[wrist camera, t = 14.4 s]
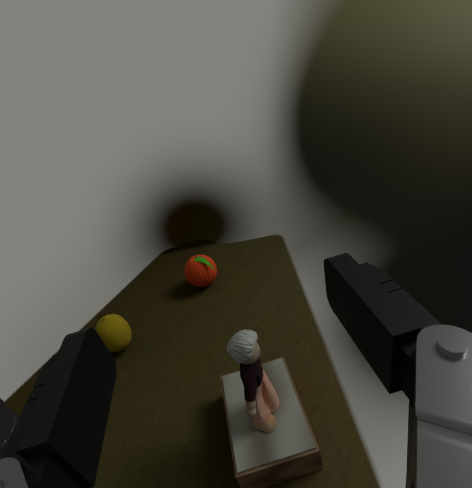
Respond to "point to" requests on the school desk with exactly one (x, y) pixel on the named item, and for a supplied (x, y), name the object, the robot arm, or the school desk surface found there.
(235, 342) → the grandmother figurine
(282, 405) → the plinth
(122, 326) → the lemon
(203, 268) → the clementine
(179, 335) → the school desk surface
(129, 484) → the school desk surface
